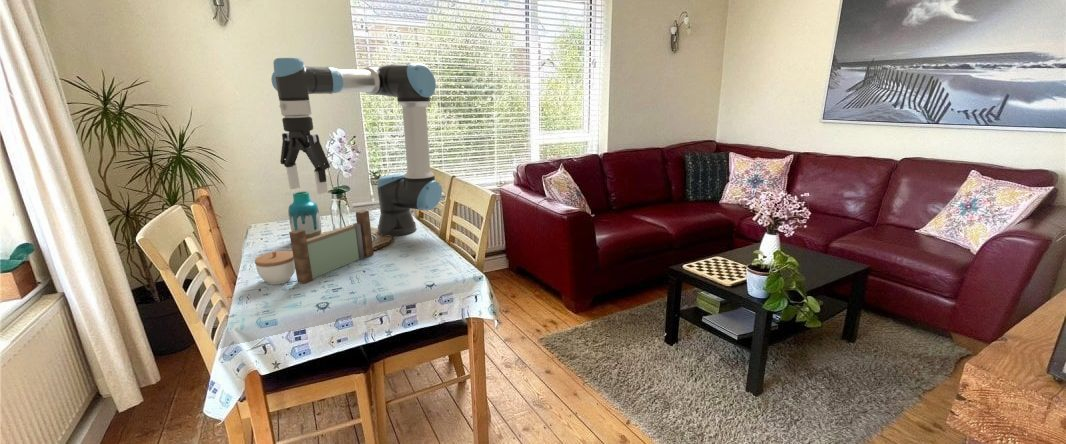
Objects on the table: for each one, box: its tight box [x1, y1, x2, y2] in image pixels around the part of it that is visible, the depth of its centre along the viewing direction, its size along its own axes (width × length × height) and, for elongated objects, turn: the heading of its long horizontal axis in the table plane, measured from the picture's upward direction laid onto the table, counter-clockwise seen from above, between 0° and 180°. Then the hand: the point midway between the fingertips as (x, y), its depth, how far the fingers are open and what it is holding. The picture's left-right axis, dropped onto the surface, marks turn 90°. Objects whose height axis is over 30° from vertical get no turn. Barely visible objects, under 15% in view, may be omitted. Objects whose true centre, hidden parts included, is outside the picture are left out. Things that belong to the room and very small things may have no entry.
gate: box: [306, 222, 365, 279], centre depth 150 cm, size 21×2×12 cm, turn 153°
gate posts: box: [288, 209, 375, 285], centre depth 149 cm, size 28×3×16 cm, turn 153°
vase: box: [288, 190, 322, 239], centre depth 175 cm, size 11×11×19 cm
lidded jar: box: [254, 250, 296, 286], centre depth 140 cm, size 11×11×9 cm
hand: (308, 190), depth 135 cm, fingers open, 13 cm apart
